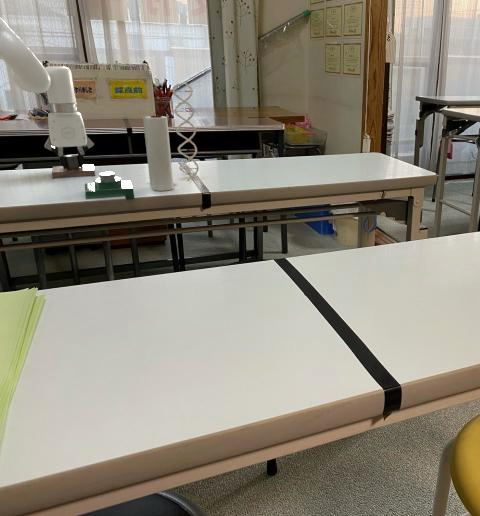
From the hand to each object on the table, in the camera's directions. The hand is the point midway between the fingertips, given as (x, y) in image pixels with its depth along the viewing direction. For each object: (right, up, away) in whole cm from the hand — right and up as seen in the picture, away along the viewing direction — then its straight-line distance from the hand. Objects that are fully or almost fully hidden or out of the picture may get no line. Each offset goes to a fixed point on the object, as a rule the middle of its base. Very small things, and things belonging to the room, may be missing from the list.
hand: (73, 167), depth 166 cm
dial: (0, 0, 0) cm, 0 cm away
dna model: (+37, -3, +4) cm, 37 cm away
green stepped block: (+21, -12, -20) cm, 32 cm away
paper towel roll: (+32, -8, -10) cm, 35 cm away
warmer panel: (0, -3, +1) cm, 3 cm away
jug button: (+21, -8, -22) cm, 31 cm away
